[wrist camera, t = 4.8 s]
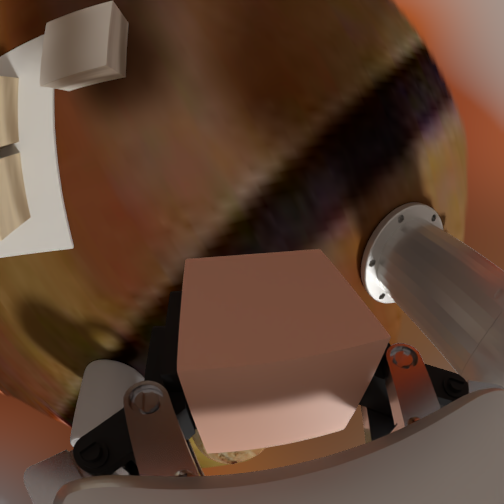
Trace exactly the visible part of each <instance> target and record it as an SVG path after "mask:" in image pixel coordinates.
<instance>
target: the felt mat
mask: <svg viewBox="0 0 504 504" xmlns="http://www.w3.org/2000/svg"><path fill="white" fill-rule="evenodd" d="M43 41H44V35H41V36H39V37H37V38H35V39H33V40H31V41H29V42H27V43H25V44H23V45H21V46H19V47H17V48H15V49H13V50H11V51H9V52H8V53H6V54H4V55H2V56H1V57H0V76H6V77H14V78H19V84H18V132H19V142H17V143H14V144H12V145H9V146H7V147H4V148H2V149H0V159H1V158H4V157H7V156H10V155H14V154H17V153H20V157H21V165H22V173H23V180H24V186H25V192H26V197H27V202H28V207H29V211H30V216H31V218H29V219H28V220H27V221H25V222H24V223H23V224H21V225H20V226H19V227H18V228H16V229H15V230H14V231H13V232H11V233H10V234H9V235H8V236H7V237H5V238H4V239H3V240H1V241H0V258H2V257H9V256H16V255H24V254H32V253H39V252H47V251H56V250H64V249H72V248H74V244H73V240H72V236H71V232H70V228H69V224H68V219H67V215H66V210H65V205H64V200H63V194H62V188H61V182H60V175H59V167H58V159H57V149H56V137H55V118H54V88H49V87H42V86H40V68H41V57H42V48H43Z"/></svg>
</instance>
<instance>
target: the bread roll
mask: <svg viewBox="0 0 504 504" xmlns="http://www.w3.org/2000/svg"><path fill="white" fill-rule="evenodd" d="M192 437H193V440H194V442H195V444H196V446H197V447H198V449H199V450H200V451H201V452H202V453H203V454H204V455H205V456H207V457H208V458H210V459H212V460H214V461H217V462H220V463H225V464H228V463H229V464H235V463H237V462H241V461H245V460H247V459H250V458H252V457H254V456H256V455H258V454H259V453H260V452H262V451H263V450H264V449H265V448H259V449H252V450H244V451H235V452H224V453H209V454H207V452H206V449H205V447H204V445H203V442H202V440H201V437H200V435H199V432H198V430H197V429H195V434H194V435H193V436H192Z"/></svg>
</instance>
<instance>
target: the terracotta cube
mask: <svg viewBox="0 0 504 504" xmlns="http://www.w3.org/2000/svg"><path fill="white" fill-rule="evenodd" d="M390 338H391V337H390V335H389V334H388V333H387V331H386V330H385V329H384V327H383V326H382V325H381V323H380V322H379V321H378V320H377V318H376V317H375V316H374V314H373V313H372V312H371V311H370V309H369V308H368V307H367V305H366V304H365V303H364V302H363V300H362V299H361V298H360V297H359V295H358V294H357V293H356V292H355V290H354V289H353V288H352V287H351V286H350V284H349V283H348V282H347V281H346V279H345V278H344V277H343V276H342V275H341V273H340V272H339V271H338V270H337V269H336V267H335V266H334V265H333V264H332V263H331V261H330V260H329V259H328V258H327V257H326V256H325V254H324V253H323V252H322V251H321V250H320V249H314V250H301V251H288V252H274V253H261V254H248V255H234V256H221V257H208V258H194V259H186V260H185V269H184V278H183V288H182V299H181V311H180V323H179V338H178V355H177V373H178V376H179V379H180V382H181V385H182V388H183V391H184V394H185V397H186V400H187V403H188V406H189V409H190V411H191V414H192V417H193V419H194V422H195V425H196V427H197V430H198V432H199V435H200V437H201V440H202V442H203V445H204V447H205V449H206V452H207V454H209V453H224V452H235V451H244V450H252V449H259V448H266V447H271V446H277V445H283V444H288V443H292V442H298V441H302V440H306V439H311V438H315V437H319V436H322V435H326V434H330V433H333V432H337V431H340V430H343V429H344V428H345V427H346V425H347V423H348V422H349V420H350V418H351V417H352V415H353V413H354V412H355V410H356V408H357V406H358V404H359V403H360V401H361V399H362V397H363V395H364V393H365V391H366V389H367V387H368V386H369V384H370V382H371V380H372V378H373V375H374V373H375V371H376V369H377V367H378V365H379V363H380V361H381V358H382V356H383V354H384V352H385V349H386V347H387V345H388V342H389V340H390Z"/></svg>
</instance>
